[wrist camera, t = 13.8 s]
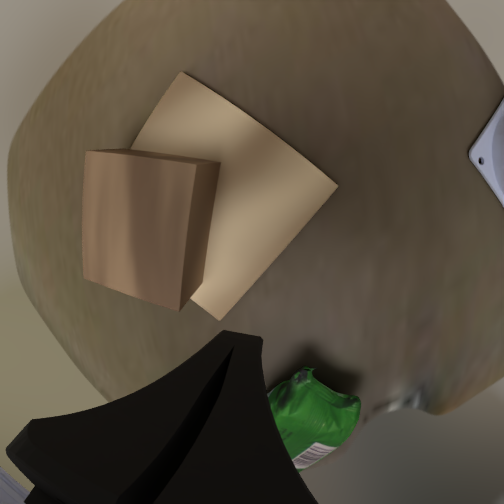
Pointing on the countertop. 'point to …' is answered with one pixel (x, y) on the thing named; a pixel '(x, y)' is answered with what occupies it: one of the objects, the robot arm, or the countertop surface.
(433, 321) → the countertop surface
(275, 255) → the plate
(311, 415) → the snack package
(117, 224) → the slab
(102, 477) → the robot arm
